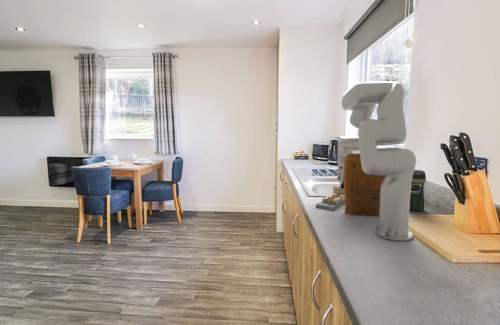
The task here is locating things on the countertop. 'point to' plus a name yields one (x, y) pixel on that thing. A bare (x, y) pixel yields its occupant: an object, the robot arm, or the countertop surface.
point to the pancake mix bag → (360, 188)
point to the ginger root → (338, 198)
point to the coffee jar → (417, 191)
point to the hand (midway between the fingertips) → (343, 192)
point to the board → (328, 204)
